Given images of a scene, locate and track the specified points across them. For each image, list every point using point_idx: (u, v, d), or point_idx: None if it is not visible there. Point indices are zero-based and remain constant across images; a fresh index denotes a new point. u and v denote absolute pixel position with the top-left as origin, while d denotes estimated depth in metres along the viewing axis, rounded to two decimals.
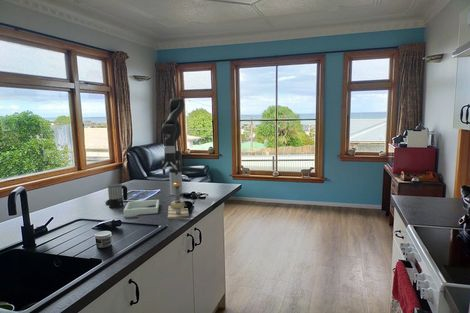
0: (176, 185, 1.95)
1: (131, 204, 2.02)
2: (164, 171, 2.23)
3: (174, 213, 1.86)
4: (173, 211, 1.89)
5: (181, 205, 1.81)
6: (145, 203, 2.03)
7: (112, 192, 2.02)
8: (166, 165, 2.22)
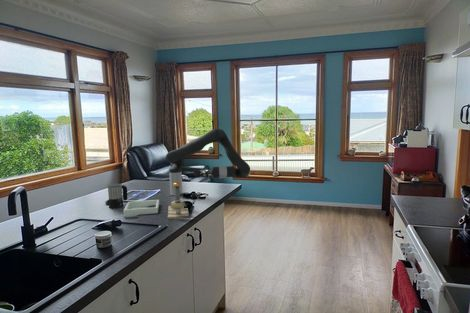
0: (176, 185, 1.95)
1: (131, 204, 2.02)
2: None
3: (174, 213, 1.86)
4: (173, 211, 1.89)
5: (181, 205, 1.81)
6: (145, 203, 2.03)
7: (112, 192, 2.02)
8: None
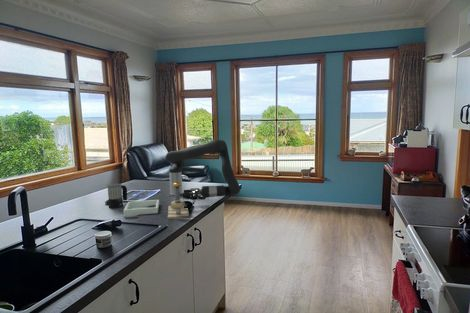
0: (176, 185, 1.95)
1: (131, 204, 2.02)
2: (188, 195, 1.96)
3: (174, 213, 1.86)
4: (173, 211, 1.89)
5: (181, 205, 1.81)
6: (145, 203, 2.03)
7: (111, 192, 2.02)
8: None
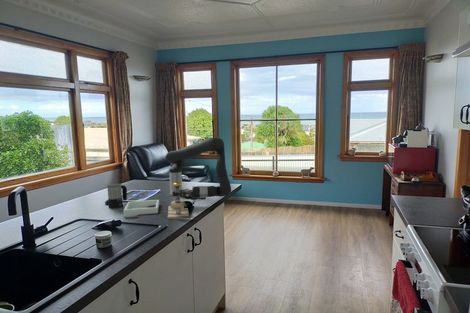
0: (176, 185, 1.95)
1: (131, 204, 2.02)
2: (177, 195, 1.97)
3: (174, 213, 1.86)
4: (173, 211, 1.89)
5: (181, 205, 1.81)
6: (145, 203, 2.03)
7: (111, 192, 2.02)
8: None
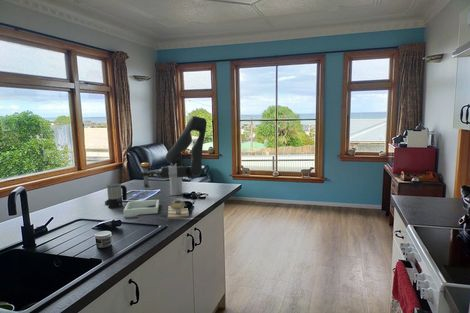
0: (144, 165, 1.90)
1: (131, 204, 2.02)
2: (145, 175, 1.92)
3: (174, 213, 1.86)
4: (173, 211, 1.89)
5: (181, 205, 1.81)
6: (145, 203, 2.03)
7: (111, 192, 2.02)
8: None
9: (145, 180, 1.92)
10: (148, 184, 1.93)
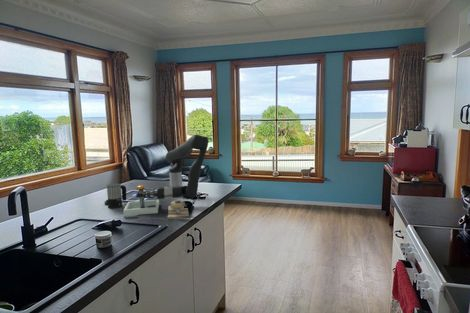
0: (139, 188, 1.91)
1: (131, 204, 2.02)
2: (141, 196, 1.92)
3: (174, 213, 1.86)
4: (173, 211, 1.89)
5: (181, 205, 1.81)
6: (145, 203, 2.03)
7: (111, 192, 2.02)
8: None
9: (141, 203, 1.93)
10: (144, 206, 1.95)
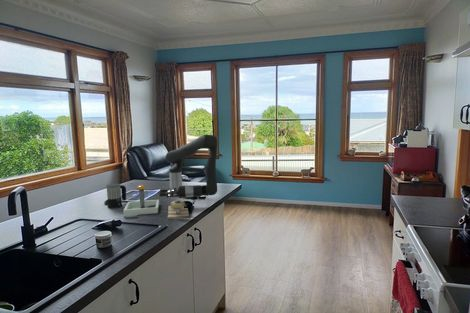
0: (140, 188, 1.91)
1: (131, 204, 2.02)
2: (163, 195, 1.93)
3: (174, 213, 1.86)
4: (173, 211, 1.89)
5: (181, 205, 1.81)
6: (145, 203, 2.03)
7: (110, 192, 2.02)
8: None
9: (141, 203, 1.93)
10: (144, 207, 1.95)
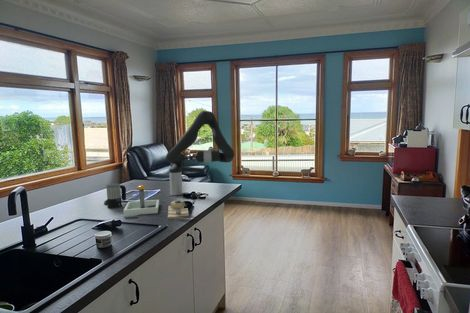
0: (140, 188, 1.91)
1: (131, 204, 2.02)
2: (183, 159, 1.99)
3: (174, 213, 1.86)
4: (173, 211, 1.89)
5: (181, 205, 1.81)
6: (145, 203, 2.03)
7: (110, 192, 2.02)
8: None
9: (141, 203, 1.93)
10: (144, 207, 1.95)
